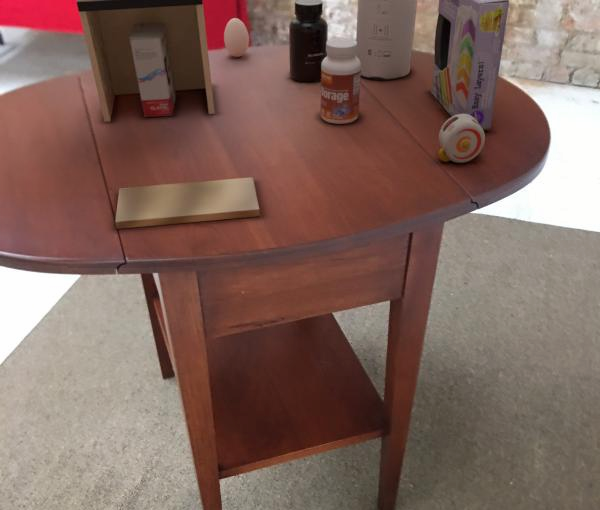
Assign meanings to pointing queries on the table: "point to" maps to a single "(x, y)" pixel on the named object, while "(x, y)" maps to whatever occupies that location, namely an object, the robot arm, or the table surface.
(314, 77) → the supplement bottle
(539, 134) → the table surface
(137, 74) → the ink box
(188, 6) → the wooden cubby shelf
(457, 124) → the roller toy
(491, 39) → the cake pan box
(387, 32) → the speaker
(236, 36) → the egg
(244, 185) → the board
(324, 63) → the pill bottle
